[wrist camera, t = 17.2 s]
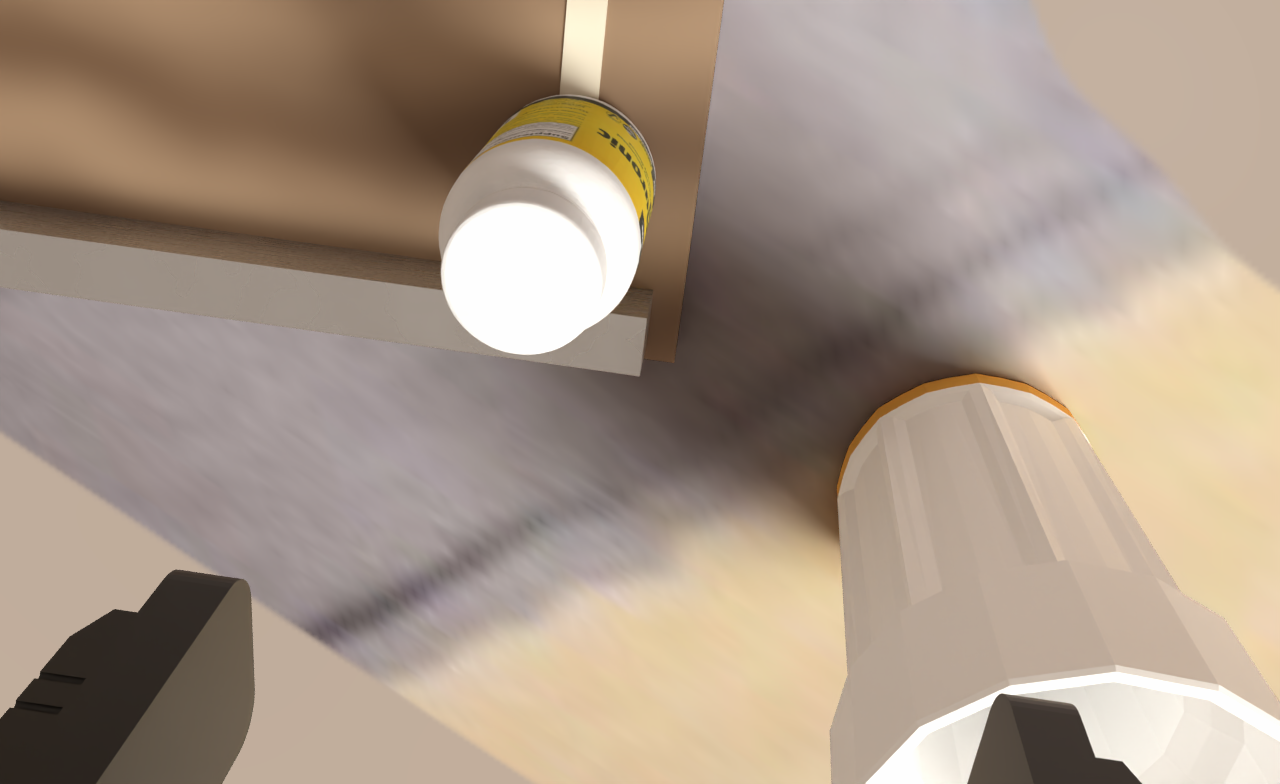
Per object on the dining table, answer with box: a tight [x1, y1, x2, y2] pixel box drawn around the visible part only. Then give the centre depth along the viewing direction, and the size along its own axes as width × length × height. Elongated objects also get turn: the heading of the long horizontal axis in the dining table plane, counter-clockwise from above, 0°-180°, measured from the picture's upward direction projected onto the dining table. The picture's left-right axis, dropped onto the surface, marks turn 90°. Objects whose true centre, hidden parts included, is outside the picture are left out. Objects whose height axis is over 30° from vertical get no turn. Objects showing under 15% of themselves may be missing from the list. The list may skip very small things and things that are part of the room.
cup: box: [830, 374, 1280, 784], centre depth 35 cm, size 11×11×17 cm
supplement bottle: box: [439, 94, 656, 355], centre depth 33 cm, size 5×5×10 cm
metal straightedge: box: [0, 201, 653, 376], centre depth 39 cm, size 2×26×2 cm, turn 84°
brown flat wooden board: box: [0, 0, 724, 363], centre depth 38 cm, size 14×28×2 cm, turn 84°
